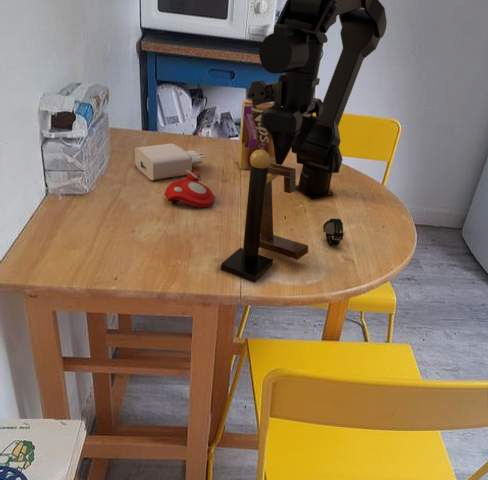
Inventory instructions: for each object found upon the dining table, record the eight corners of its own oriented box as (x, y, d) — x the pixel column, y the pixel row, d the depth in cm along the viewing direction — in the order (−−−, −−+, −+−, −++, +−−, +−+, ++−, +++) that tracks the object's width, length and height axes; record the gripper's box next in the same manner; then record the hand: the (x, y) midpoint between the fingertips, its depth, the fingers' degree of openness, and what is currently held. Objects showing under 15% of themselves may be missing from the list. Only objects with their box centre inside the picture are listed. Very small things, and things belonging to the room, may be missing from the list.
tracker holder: (224, 201, 100) (179, 197, 94) (216, 218, 103) (172, 215, 97) (200, 165, 107) (157, 159, 101) (193, 182, 109) (151, 177, 103)
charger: (214, 172, 115) (153, 182, 107) (194, 158, 121) (135, 166, 112) (215, 152, 112) (152, 161, 104) (194, 138, 118) (134, 145, 110)
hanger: (266, 239, 89) (263, 159, 82) (308, 252, 84) (308, 169, 77) (254, 246, 87) (250, 165, 80) (297, 260, 82) (297, 175, 75)
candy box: (273, 163, 123) (280, 100, 115) (276, 170, 120) (284, 106, 111) (237, 162, 121) (242, 98, 113) (239, 169, 118) (244, 103, 109)
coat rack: (250, 243, 90) (261, 134, 79) (282, 255, 88) (298, 144, 77) (220, 269, 82) (228, 152, 71) (254, 283, 80) (268, 163, 69)
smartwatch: (343, 240, 95) (348, 216, 92) (339, 253, 91) (344, 229, 88) (321, 235, 96) (326, 212, 93) (317, 248, 91) (322, 224, 89)
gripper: (276, 57, 95) (264, 138, 103) (237, 65, 80) (227, 159, 88) (331, 69, 93) (315, 151, 101) (303, 79, 77) (286, 175, 85)
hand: (286, 158), depth 94 cm, fingers open, 9 cm apart
